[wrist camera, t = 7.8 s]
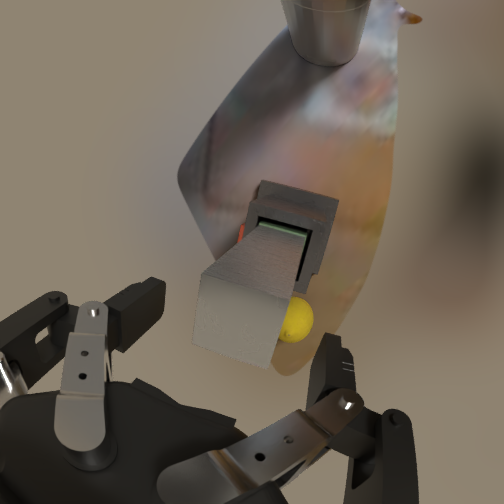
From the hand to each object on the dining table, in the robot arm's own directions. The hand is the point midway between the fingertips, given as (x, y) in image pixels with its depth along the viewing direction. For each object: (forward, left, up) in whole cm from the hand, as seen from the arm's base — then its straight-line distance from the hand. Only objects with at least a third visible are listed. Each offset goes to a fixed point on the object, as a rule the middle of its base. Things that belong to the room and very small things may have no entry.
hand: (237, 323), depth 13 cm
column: (0, 0, -18) cm, 18 cm away
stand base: (0, 0, -25) cm, 25 cm away
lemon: (+11, +3, -25) cm, 28 cm away
